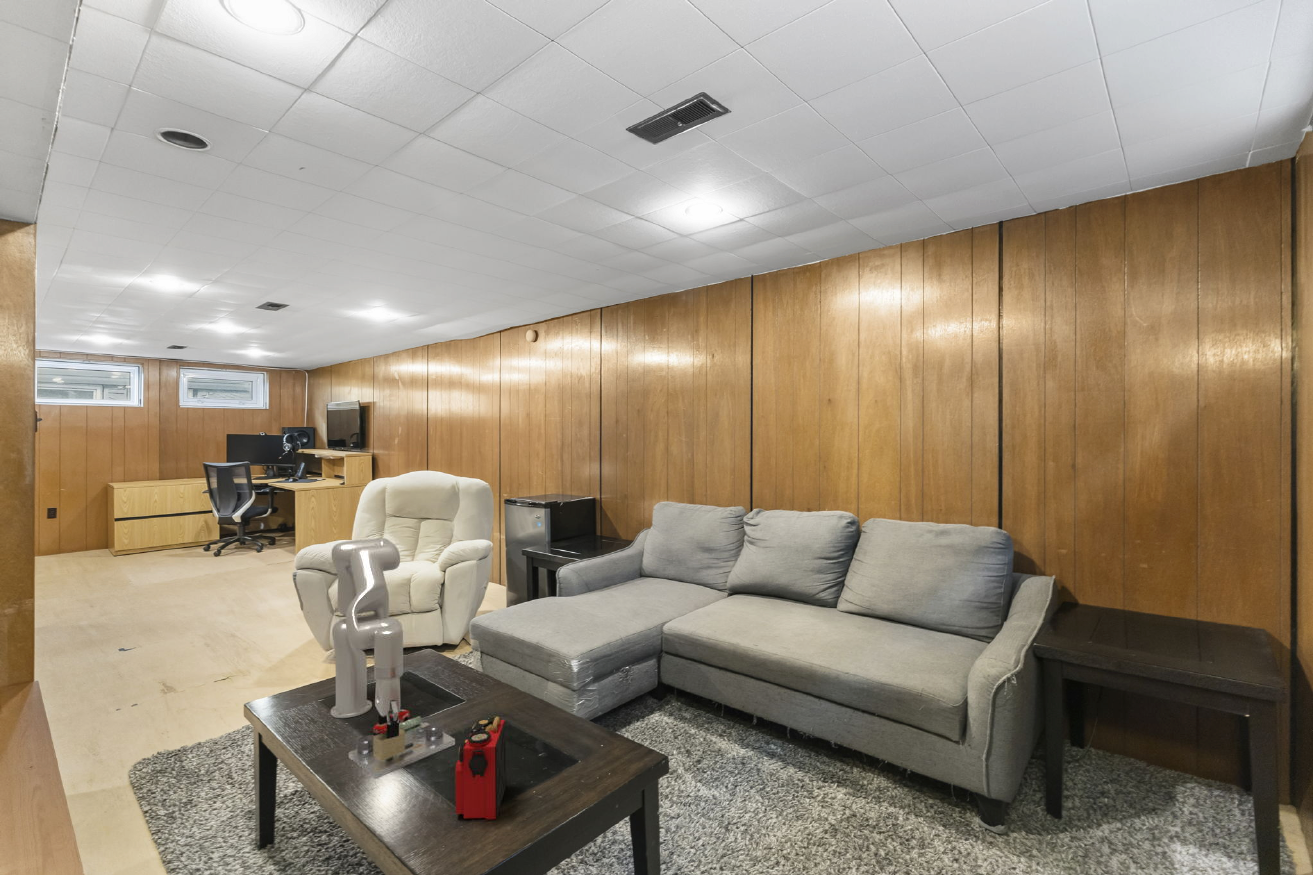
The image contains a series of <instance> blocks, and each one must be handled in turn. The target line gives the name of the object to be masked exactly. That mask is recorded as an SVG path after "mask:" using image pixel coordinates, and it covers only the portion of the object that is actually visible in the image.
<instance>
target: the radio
mask: <svg viewBox="0 0 1313 875" xmlns="http://www.w3.org/2000/svg"><path fill="white" fill-rule="evenodd" d="M506 722H507V721H506V720H505V719H501V718H500V717H499V716H496V717H494V718H482V719H478V720H477V722H476V723H475V724H474V725H473V726H472V728H471V730H470V734H469V736H468V737H467V739H465V741H464V742H461V743H460V745H459V749H458V760H457V762H456V764H455V771H454V773H455V781H454V782H455V814H456V815H463V819H483V818H484V819H485V820H496V819H497V817H498V815H499V811H500V809H501V805H502V802H503V801H502V800H503V798H504V794H505V790H506V786H507V724H506Z"/></svg>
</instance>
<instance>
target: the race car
mask: <svg viewBox="0 0 1313 875" xmlns="http://www.w3.org/2000/svg"><path fill="white" fill-rule="evenodd" d="M398 713H399V714H398V716H399V723H402V722H405V721H407V720H410V719H411V714H410V711H409V710H407V709H400V711H399V712H398ZM391 717H393V716H392V715H391ZM387 724H388V723H385V724H381V725H379V722H377V723H376V724H375V725H374V726H373V729H372V730H373V734H374V735H378V734H381V733H383V732H386V731H387Z"/></svg>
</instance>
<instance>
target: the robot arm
mask: <svg viewBox="0 0 1313 875" xmlns="http://www.w3.org/2000/svg"><path fill="white" fill-rule="evenodd" d="M330 554H331V561H332V564H333V566H334V569H335V571H336V575H337V609H338V611H339V613H340V615H343V616H345V618H343V619H340V620H337V621H336V622H335V623H334V625H333V626H332V629H331V630H332V631H331V635H332V636H331V637H332V642H333V646H334V656H335V657H334V658H335V660H334V661H335V705H334V706H333V707H331V709H330V716H331V717H332V718H337V719H347V718H354V717H357V716H360V715H363V714H365V713H367V712H368V711H370V710H371V709H372V706H373V702H372V701H371V700H368V694H367V693H368V692H367V691H368V689H367V688H368V685H367V684H368V682H367V681H368V680H367V679H368V678H367V677H368V674H367V673H368V672H367V671H368V670H367V665H368V664H367V655H366V653H365V650H368V649H372V648H373V650H374V651H373V652H374V655H373V656H374V662H373V663H374V665H373V668H374V669H373V671H374V674H373V676H374V680H375V692H374V693H375V696H374V697H375V698H374V705H375V708H376V710H377V711H378V723H379V725H381V724H385V723H388V724H387V739H389V738H393V737H397V736H399V716H398V714H399V713H398V712H399V711H400V710H401V682H400V678H401V677H402V676H403V674H404V630H403V627H402V623H401V621H399V619H397V618H395V617H390V616H389V615H390V596H389V590H388V588H387V587H388V586H387V583H386V579H385V578H386V577H385V574H384V572H388V571H394V570H396V569H398V568H399V566H400V563H401V554H400V552H399V549H398V547H397V546H396V544H394V543H393V542H392V541H391V540H389V539H387V538H384V537H383V538H382V537H378V538H370V539H369V538H368V539H356V540H348V541H342V542H339V543H336V544H335V545H334V546H333V547H332V549H331V553H330ZM370 612H371V613H370ZM372 612H373V613H372ZM365 613H368V614H365ZM369 613H370V614H369ZM359 614H360V615H359ZM361 614H362V615H361ZM391 715H392V716H393V717H391Z"/></svg>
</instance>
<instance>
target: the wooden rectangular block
mask: <svg viewBox="0 0 1313 875" xmlns="http://www.w3.org/2000/svg"><path fill="white" fill-rule="evenodd" d="M411 747H413V743H409V744H407V745H405V731H403V730H401V729H400V728H399V736H397V737H393V738H389V739H387V731H386V732H383V733H381V734H375V735H374V736H373V756H374V757H375V758H377V759H379V760H380V761H383V760H385V759H391V758H393V756H395V755H397V754H399V753H402V752H404V751H405V750H406V749H408V748H411Z"/></svg>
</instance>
